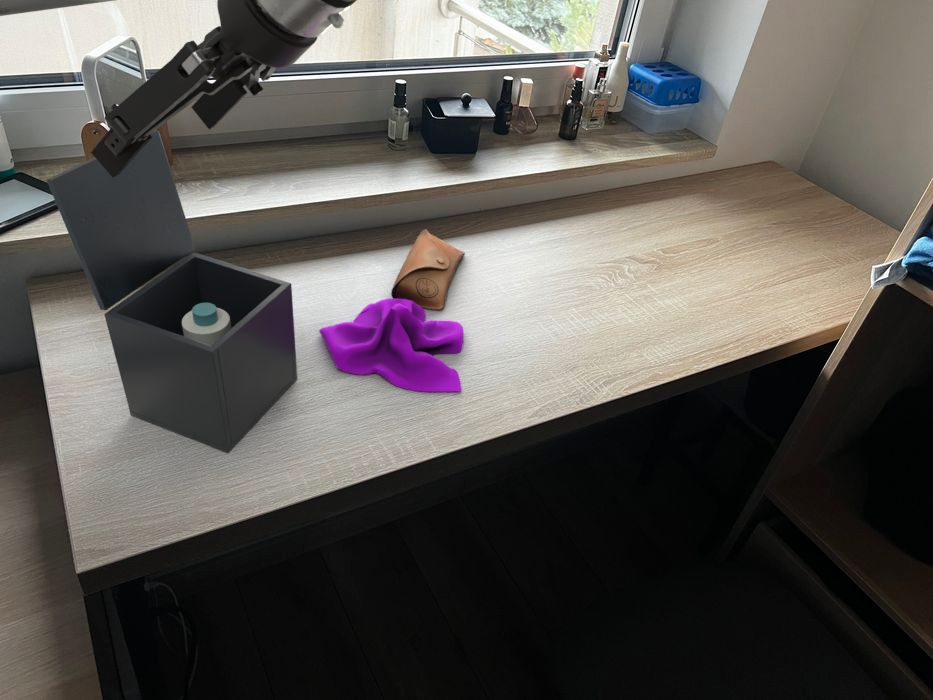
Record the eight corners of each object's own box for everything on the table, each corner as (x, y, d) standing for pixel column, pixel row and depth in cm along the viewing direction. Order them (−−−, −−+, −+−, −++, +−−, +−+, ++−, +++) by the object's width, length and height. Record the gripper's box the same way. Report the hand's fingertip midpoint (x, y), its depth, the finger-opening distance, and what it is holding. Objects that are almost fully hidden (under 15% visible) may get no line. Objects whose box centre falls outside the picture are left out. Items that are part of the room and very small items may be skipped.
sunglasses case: (446, 309, 107) (426, 273, 104) (405, 322, 110) (384, 286, 107) (466, 250, 122) (449, 217, 118) (430, 263, 124) (412, 230, 121)
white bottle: (221, 411, 86) (209, 328, 78) (185, 397, 87) (169, 314, 80) (247, 386, 90) (237, 303, 82) (212, 373, 91) (199, 291, 84)
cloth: (296, 350, 98) (294, 313, 94) (377, 290, 111) (378, 255, 107) (436, 417, 90) (440, 380, 86) (505, 344, 103) (510, 309, 99)
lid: (158, 130, 79) (153, 129, 79) (52, 180, 68) (45, 179, 68) (195, 249, 87) (190, 248, 87) (105, 311, 76) (99, 309, 76)
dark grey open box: (297, 379, 93) (291, 283, 84) (228, 453, 82) (212, 352, 73) (208, 347, 96) (193, 251, 87) (130, 415, 85) (103, 313, 76)
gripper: (217, 83, 48) (87, 224, 61) (384, 11, 67) (258, 130, 80) (138, -18, 46) (20, 149, 59) (333, -63, 65) (212, 71, 78)
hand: (157, 139), depth 70 cm, fingers open, 13 cm apart
